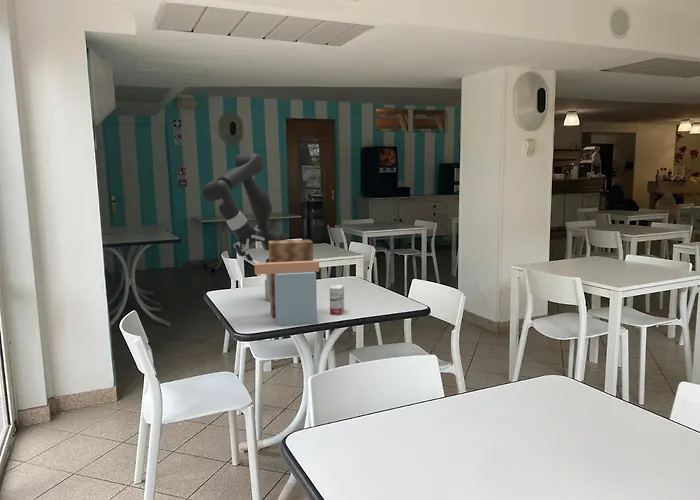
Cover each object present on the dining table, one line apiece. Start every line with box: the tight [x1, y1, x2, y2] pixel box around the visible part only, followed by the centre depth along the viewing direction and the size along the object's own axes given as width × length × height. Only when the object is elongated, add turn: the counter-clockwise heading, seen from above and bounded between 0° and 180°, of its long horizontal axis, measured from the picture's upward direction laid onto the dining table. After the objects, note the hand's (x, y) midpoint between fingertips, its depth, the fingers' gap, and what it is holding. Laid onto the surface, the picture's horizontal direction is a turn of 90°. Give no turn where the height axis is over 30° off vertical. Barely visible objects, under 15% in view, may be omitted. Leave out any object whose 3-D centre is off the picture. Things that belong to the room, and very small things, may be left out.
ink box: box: [329, 284, 345, 316], centre depth 242 cm, size 9×5×12 cm, turn 168°
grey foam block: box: [274, 272, 318, 327], centre depth 227 cm, size 16×10×21 cm, turn 103°
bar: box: [253, 260, 320, 275], centre depth 225 cm, size 26×4×4 cm, turn 103°
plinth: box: [268, 239, 314, 319], centre depth 239 cm, size 18×10×32 cm, turn 103°
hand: (259, 253), depth 230 cm, fingers open, 8 cm apart
